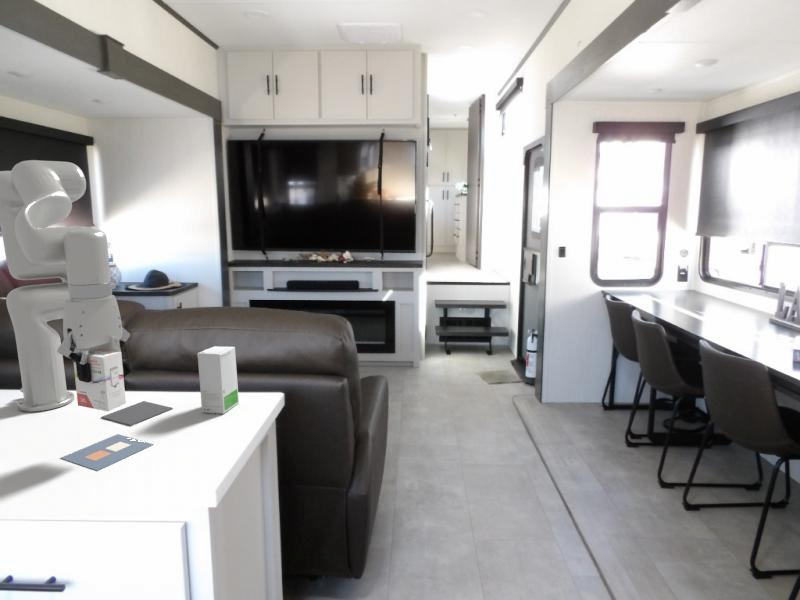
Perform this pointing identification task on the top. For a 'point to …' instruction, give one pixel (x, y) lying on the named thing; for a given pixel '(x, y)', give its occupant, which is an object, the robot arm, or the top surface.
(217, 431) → the top surface
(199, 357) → the skincare box
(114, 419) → the rubber mat
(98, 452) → the tile
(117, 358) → the ink cartridge box
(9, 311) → the robot arm
